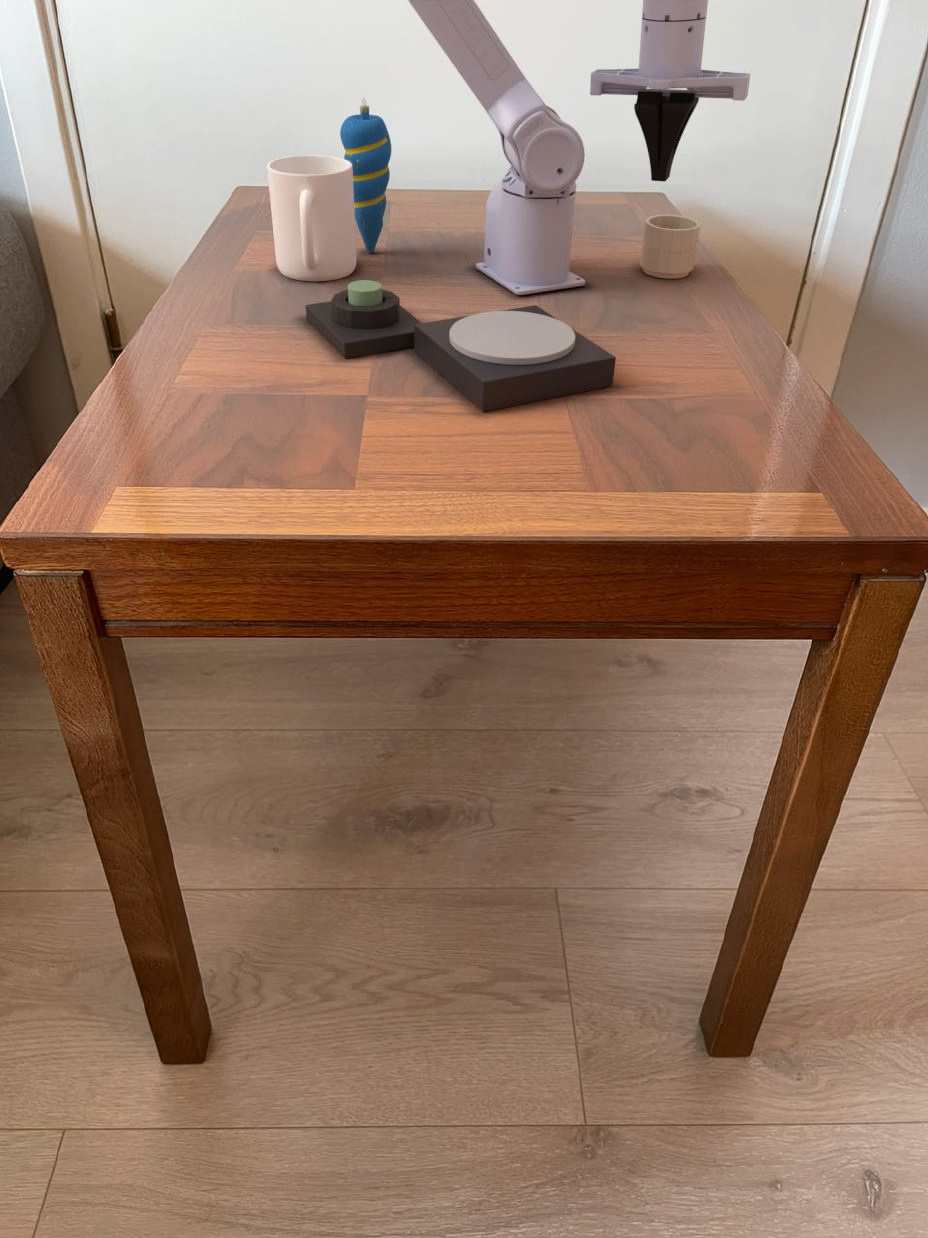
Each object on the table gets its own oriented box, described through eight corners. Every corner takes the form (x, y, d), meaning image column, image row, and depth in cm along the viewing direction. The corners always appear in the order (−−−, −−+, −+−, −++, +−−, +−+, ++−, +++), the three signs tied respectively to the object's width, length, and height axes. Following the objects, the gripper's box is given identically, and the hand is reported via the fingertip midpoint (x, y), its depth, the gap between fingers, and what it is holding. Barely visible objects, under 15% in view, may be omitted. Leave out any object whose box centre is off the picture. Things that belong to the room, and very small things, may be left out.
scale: (414, 352, 85) (413, 317, 83) (534, 331, 89) (536, 297, 87) (482, 412, 75) (483, 374, 74) (612, 386, 80) (617, 349, 78)
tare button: (343, 299, 87) (342, 282, 86) (374, 295, 88) (374, 278, 87) (355, 310, 85) (355, 293, 84) (387, 305, 86) (387, 288, 85)
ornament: (357, 261, 104) (349, 104, 95) (339, 248, 107) (330, 95, 98) (401, 255, 106) (398, 101, 97) (382, 242, 109) (377, 92, 100)
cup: (358, 256, 105) (354, 155, 99) (353, 295, 96) (348, 185, 89) (281, 256, 105) (272, 153, 99) (268, 294, 95) (256, 184, 89)
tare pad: (306, 319, 90) (303, 287, 88) (386, 307, 93) (385, 275, 91) (345, 358, 83) (343, 324, 81) (430, 344, 86) (430, 311, 84)
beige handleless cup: (628, 266, 104) (634, 217, 101) (671, 260, 107) (678, 212, 103) (659, 282, 101) (666, 232, 98) (703, 275, 103) (711, 226, 100)
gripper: (583, 22, 87) (577, 184, 95) (748, 24, 82) (727, 193, 91) (604, 12, 92) (597, 166, 101) (761, 13, 88) (740, 175, 96)
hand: (660, 178), depth 96 cm, fingers closed
